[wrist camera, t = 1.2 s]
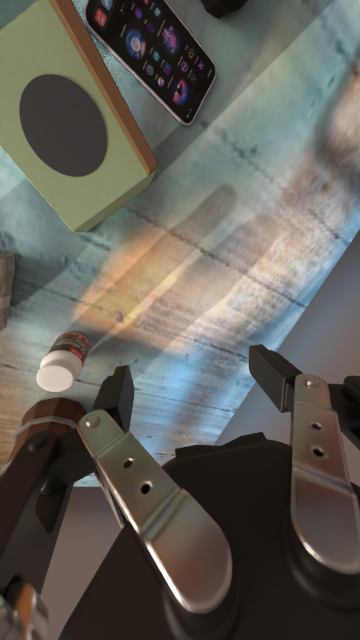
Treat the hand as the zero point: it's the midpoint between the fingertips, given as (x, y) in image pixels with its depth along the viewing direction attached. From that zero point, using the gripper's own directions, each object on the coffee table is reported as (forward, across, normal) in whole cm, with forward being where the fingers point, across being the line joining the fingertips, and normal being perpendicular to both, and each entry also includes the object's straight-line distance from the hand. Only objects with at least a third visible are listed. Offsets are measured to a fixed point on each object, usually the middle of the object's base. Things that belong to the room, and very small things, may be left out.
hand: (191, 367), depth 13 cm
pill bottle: (+24, +19, +7) cm, 31 cm away
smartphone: (+23, -2, -31) cm, 38 cm away
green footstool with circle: (+23, +9, -20) cm, 32 cm away
